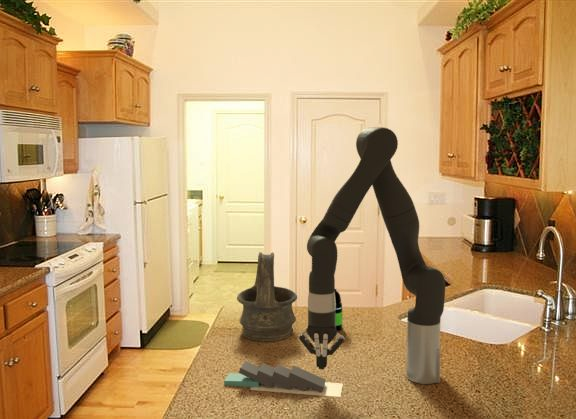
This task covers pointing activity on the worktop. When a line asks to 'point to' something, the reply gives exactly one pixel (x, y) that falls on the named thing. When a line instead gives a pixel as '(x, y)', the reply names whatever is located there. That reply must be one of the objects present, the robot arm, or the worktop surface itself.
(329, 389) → the strip
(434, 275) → the robot arm
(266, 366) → the domino
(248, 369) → the domino
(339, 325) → the bottle
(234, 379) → the domino
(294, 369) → the domino
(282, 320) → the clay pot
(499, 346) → the worktop surface
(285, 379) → the domino
